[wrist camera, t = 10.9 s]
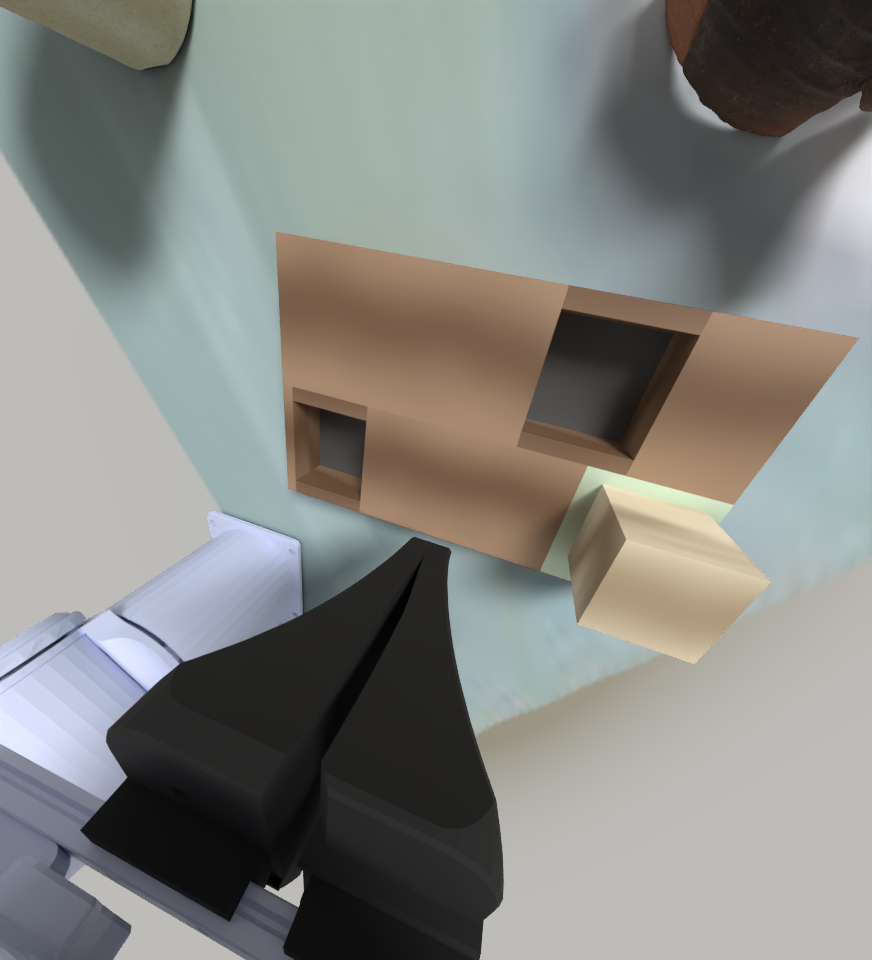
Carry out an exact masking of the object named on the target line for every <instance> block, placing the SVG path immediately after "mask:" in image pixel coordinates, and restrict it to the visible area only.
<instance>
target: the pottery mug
mask: <svg viewBox="0 0 872 960" xmlns="http://www.w3.org/2000/svg"><path fill="white" fill-rule="evenodd" d="M666 22H667V27H668V31H669V34H670V42H671V45H672V47H673V49H674V51H675V53H676V56H677V60H678V62H679V63H680V64H681V66H682V67H683V73H684V75H685V77H686V79H687V80H688V82H689V83H690V85H691V86H692V87H693V89H694V90H695V91H696V93H697V94H698V96H699V100H700V101H701V103H702V104H703V105H705V106H706V107H708V108H709V109H711V110H712V111H713V112H715V114H716V115H718V117H719V118H720V119H721V120H722V121H723V122H726V123H728V124H729V125H730V126H732V127H734V128H736V129H739V130H742V131H750V132H752V133H755V134H759V135H768V136H783V135H785V134H787V133H789V132H791V131H792V130H793V129H795V128H796V127H798V126H799V125H800V124H802V123H804V122H805V121H807V120H808V119H809V118H811V117H812V116H814V115H816V114H818V113H820V112H823V111H825V110H827V109H829V108H831V107H832V106H834V105H835V104H837V103H838V102H839V101H841V100H842V99H844V98H847V97H849V96H852V95H854V94H855V93H857V92H859V91H862V97H861V100H860V106H859V108H860V110H862V111H872V0H666Z"/></svg>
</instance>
